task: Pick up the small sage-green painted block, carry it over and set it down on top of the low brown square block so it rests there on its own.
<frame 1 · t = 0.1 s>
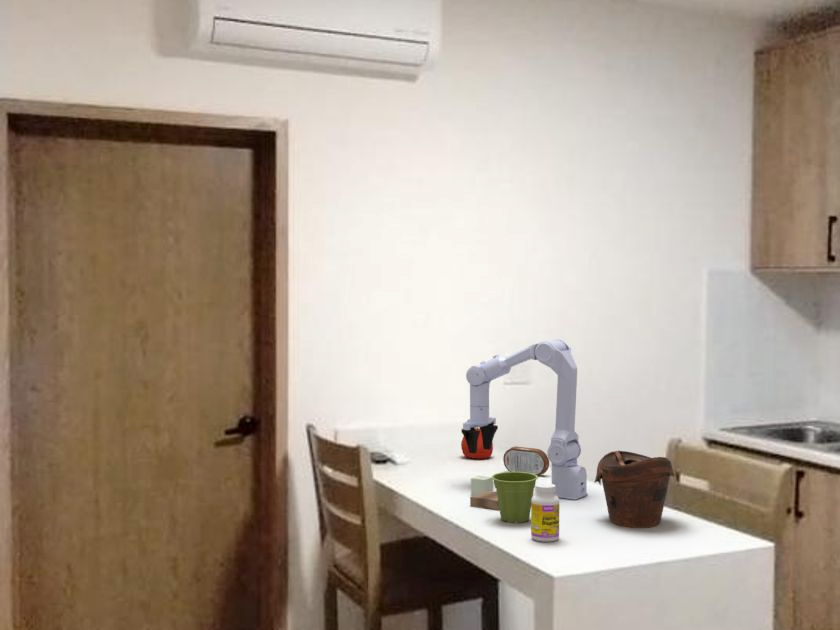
hand: (479, 451, 298), 10 cm above the table, tool pointing down, fingers open, 7 cm apart
plant pot: (514, 520, 256), on the table
supplement bottle: (545, 539, 237), on the table
rusty brown bucket: (633, 522, 253), on the table
brown square block: (493, 506, 272), on the table
tin: (525, 475, 313), on the table
apple: (477, 458, 342), on the table
sage block: (481, 495, 285), on the table
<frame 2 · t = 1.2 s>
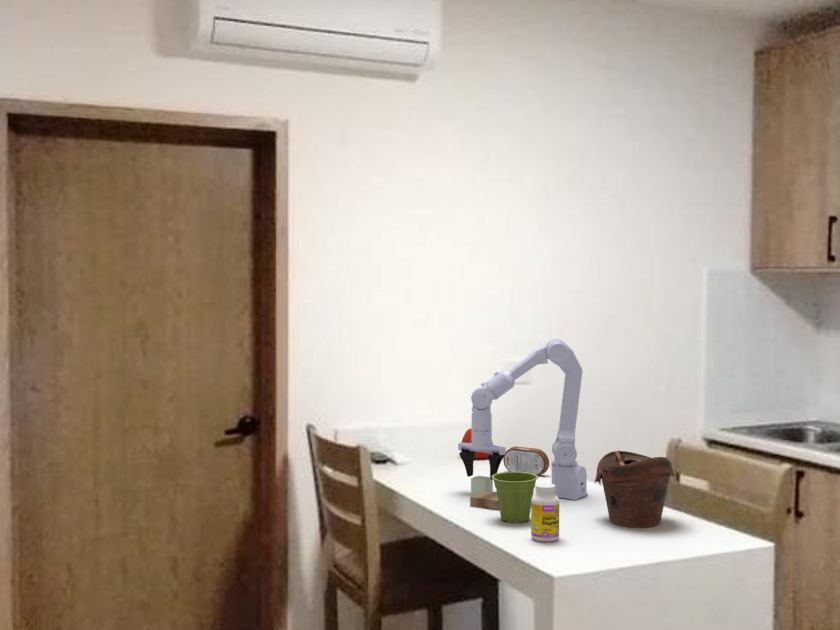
hand: (481, 477, 284), 5 cm above the table, tool pointing down, fingers open, 7 cm apart
nothing on the table moved.
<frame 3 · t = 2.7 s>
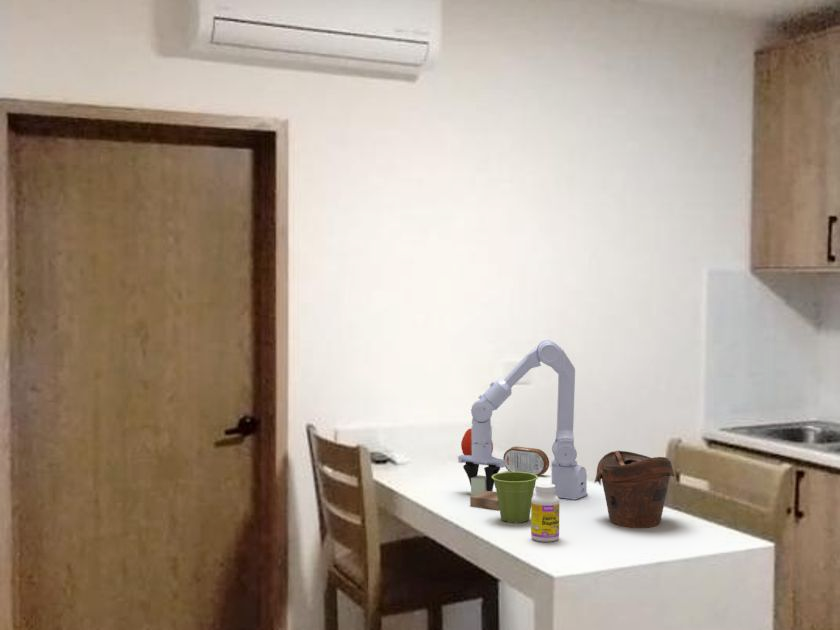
hand: (481, 489, 285), 1 cm above the table, tool pointing down, fingers closed on sage block, 4 cm apart
sage block: (481, 494, 285), on the table, touching gripper
everything else where it was.
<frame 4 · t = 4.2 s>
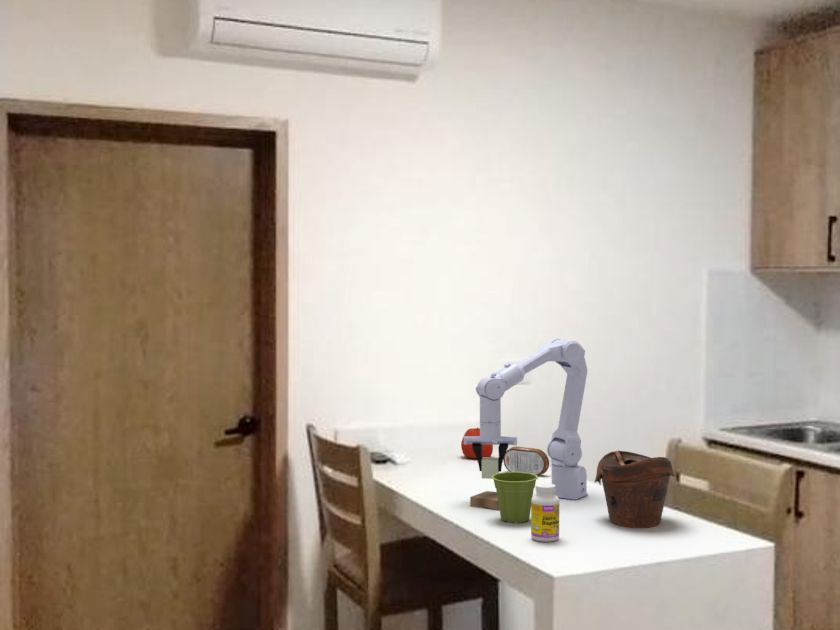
hand: (490, 470, 274), 9 cm above the table, tool pointing down, fingers closed on sage block, 4 cm apart
sage block: (490, 476, 274), point 7 cm above the table, touching gripper
everything else where it was.
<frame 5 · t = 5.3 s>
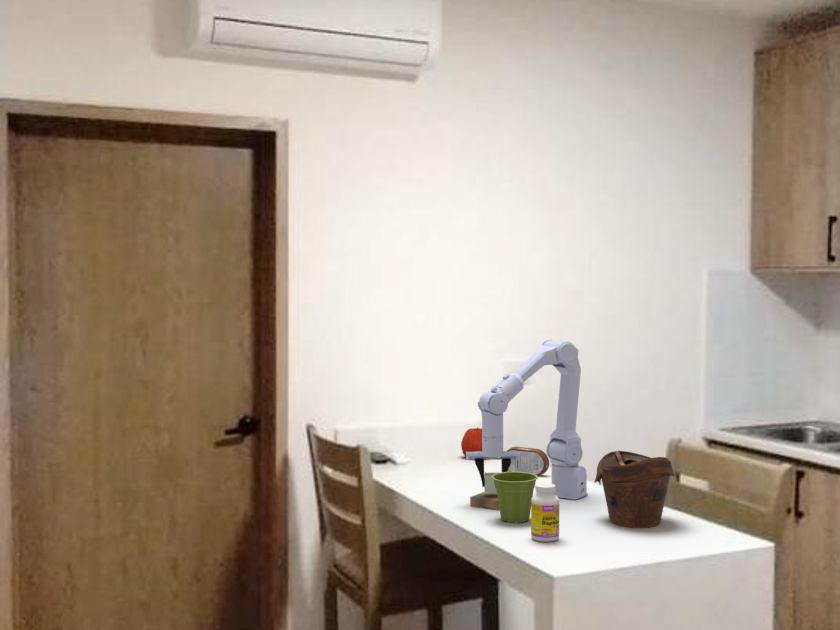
hand: (493, 486, 272), 5 cm above the table, tool pointing down, fingers closed on sage block, 4 cm apart
sage block: (493, 492, 272), point 3 cm above the table, touching gripper
everything else where it was.
when the fingers open (5 cm above the table, at t = 6.0 s): sage block stays where it is, resting on brown square block.
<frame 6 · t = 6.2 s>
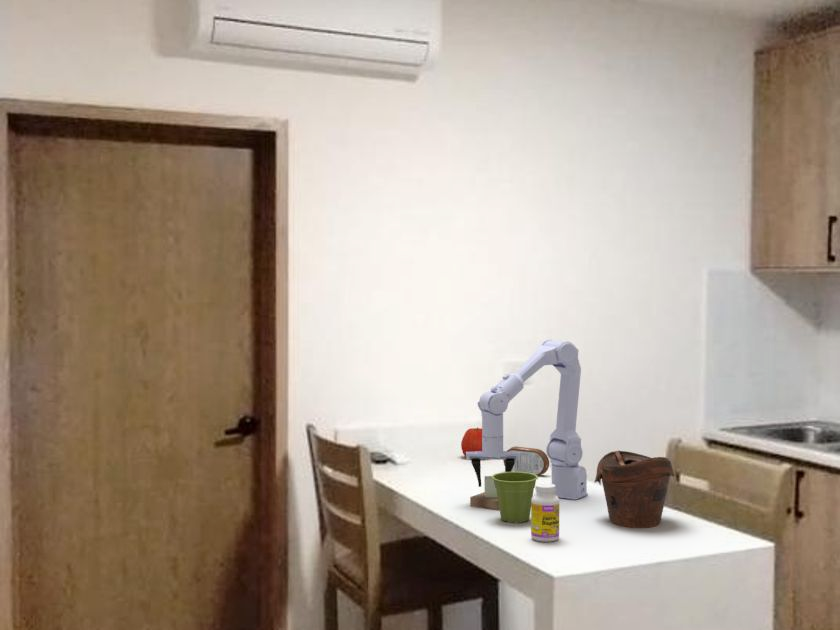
hand: (492, 486, 272), 5 cm above the table, tool pointing down, fingers open, 6 cm apart
brown square block: (493, 506, 272), on the table, touching sage block
sage block: (493, 495, 272), point 3 cm above the table, touching brown square block
everything else where it was.
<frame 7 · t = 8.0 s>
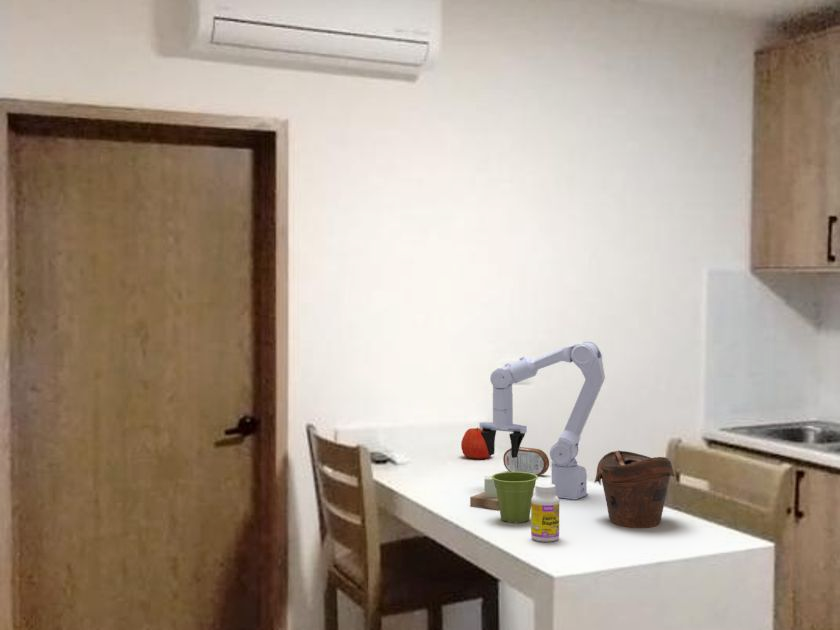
hand: (502, 455, 289), 10 cm above the table, tool pointing down, fingers open, 7 cm apart
nothing on the table moved.
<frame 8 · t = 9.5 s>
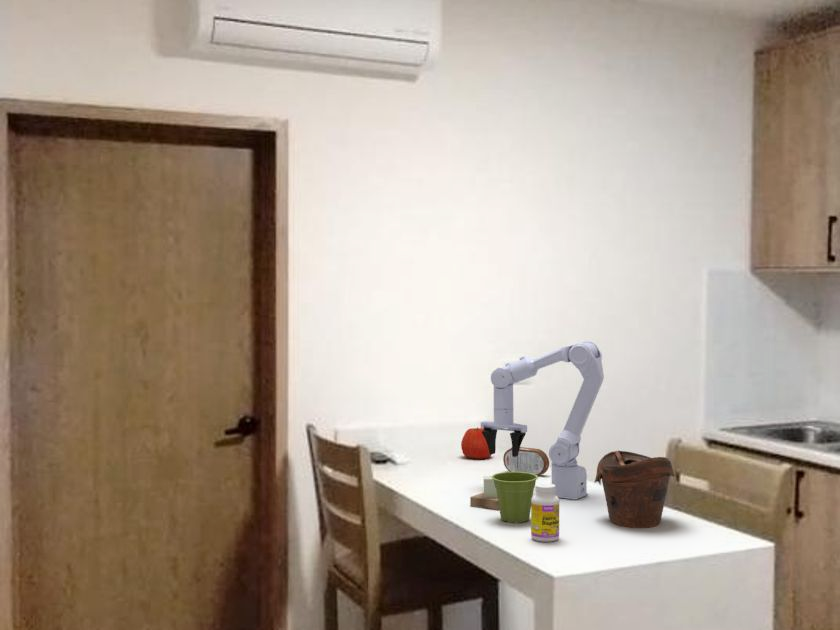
hand: (503, 455, 290), 10 cm above the table, tool pointing down, fingers open, 7 cm apart
nothing on the table moved.
at the end: sage block inside the target area on the brown square block (0.2 cm from its centre), point 3.0 cm above the brown square block's base; sage block tilted 0°; sage block touching brown square block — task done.
